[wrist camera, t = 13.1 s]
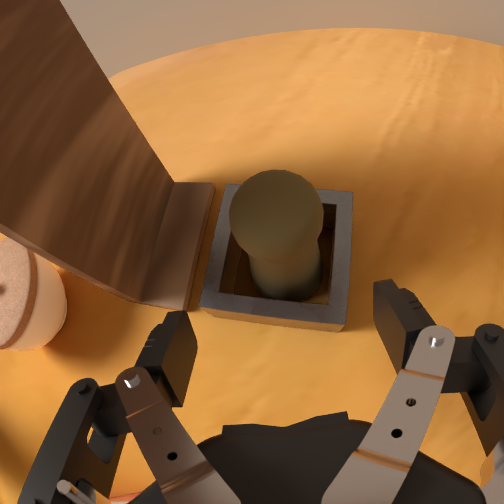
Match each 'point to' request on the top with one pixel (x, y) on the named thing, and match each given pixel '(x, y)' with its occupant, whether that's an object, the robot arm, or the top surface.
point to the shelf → (88, 168)
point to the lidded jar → (28, 298)
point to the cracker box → (123, 499)
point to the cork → (279, 233)
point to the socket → (277, 311)
